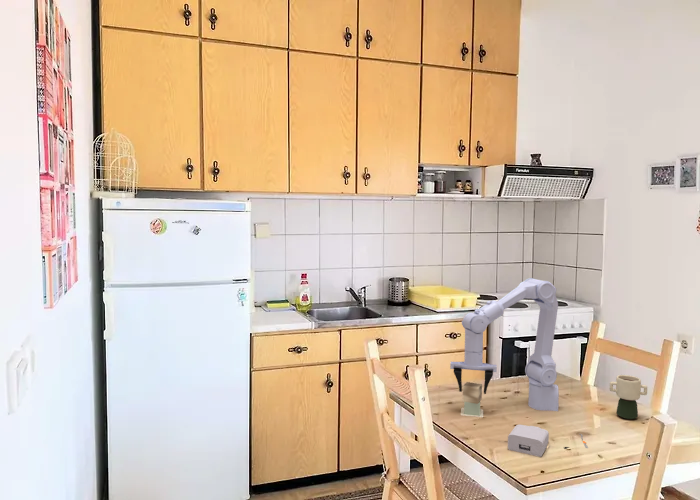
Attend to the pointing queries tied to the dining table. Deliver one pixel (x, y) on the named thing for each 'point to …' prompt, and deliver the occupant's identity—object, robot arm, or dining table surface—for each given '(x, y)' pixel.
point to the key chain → (583, 442)
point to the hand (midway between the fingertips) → (472, 391)
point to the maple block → (472, 392)
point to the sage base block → (472, 408)
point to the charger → (528, 440)
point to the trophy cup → (628, 395)
